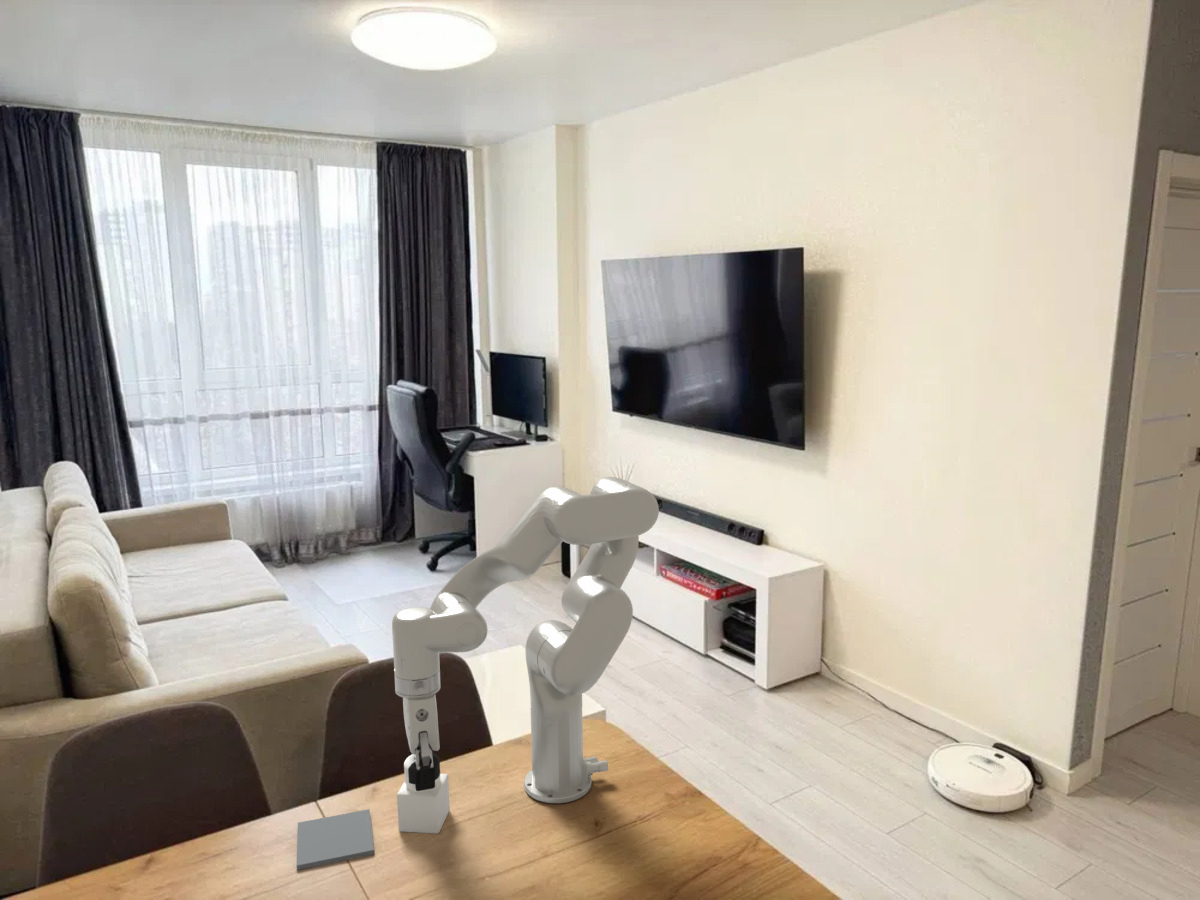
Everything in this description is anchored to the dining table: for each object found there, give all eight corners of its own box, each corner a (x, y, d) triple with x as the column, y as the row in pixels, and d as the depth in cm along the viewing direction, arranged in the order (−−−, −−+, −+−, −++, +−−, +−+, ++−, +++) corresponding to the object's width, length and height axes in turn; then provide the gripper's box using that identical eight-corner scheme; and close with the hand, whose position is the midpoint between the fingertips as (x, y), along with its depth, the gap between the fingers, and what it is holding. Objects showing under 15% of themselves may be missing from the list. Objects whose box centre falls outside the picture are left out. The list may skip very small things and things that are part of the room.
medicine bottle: (450, 809, 151) (447, 747, 149) (438, 834, 144) (435, 769, 142) (411, 808, 152) (408, 746, 150) (398, 832, 145) (394, 767, 143)
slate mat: (369, 813, 151) (369, 809, 151) (374, 854, 139) (374, 849, 139) (298, 826, 147) (297, 822, 147) (296, 870, 136) (296, 865, 136)
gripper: (447, 699, 137) (451, 797, 140) (433, 658, 153) (436, 746, 156) (399, 706, 135) (404, 805, 137) (390, 663, 151) (395, 752, 154)
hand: (421, 773), depth 147 cm, fingers open, 9 cm apart
